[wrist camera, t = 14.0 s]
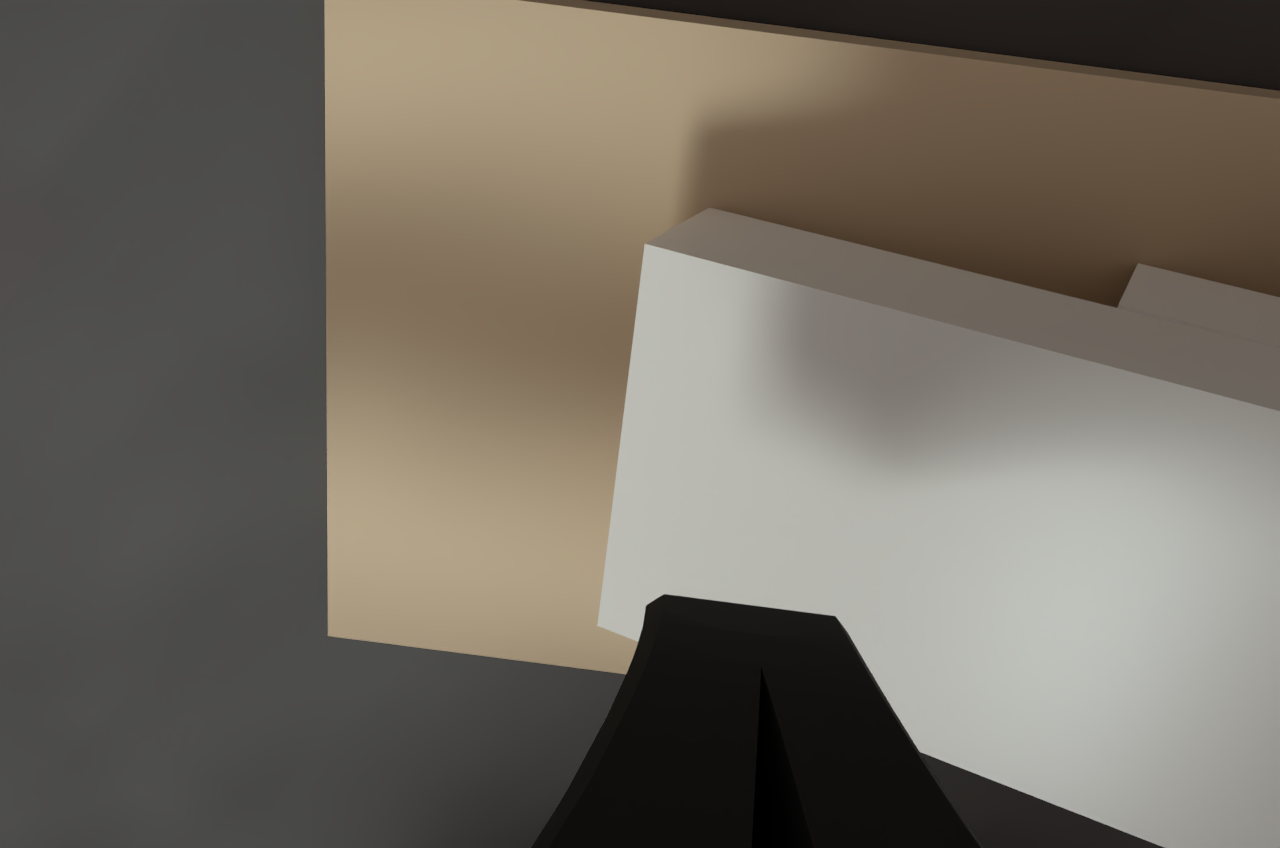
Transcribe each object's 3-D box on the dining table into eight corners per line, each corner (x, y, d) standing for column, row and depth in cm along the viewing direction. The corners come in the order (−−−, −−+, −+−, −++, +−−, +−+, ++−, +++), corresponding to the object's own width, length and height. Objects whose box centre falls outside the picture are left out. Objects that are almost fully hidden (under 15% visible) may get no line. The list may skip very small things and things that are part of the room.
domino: (710, 207, 12) (1471, 395, 10) (657, 559, 14) (1280, 785, 12) (645, 243, 11) (1506, 470, 9) (597, 625, 13) (1285, 895, 11)
